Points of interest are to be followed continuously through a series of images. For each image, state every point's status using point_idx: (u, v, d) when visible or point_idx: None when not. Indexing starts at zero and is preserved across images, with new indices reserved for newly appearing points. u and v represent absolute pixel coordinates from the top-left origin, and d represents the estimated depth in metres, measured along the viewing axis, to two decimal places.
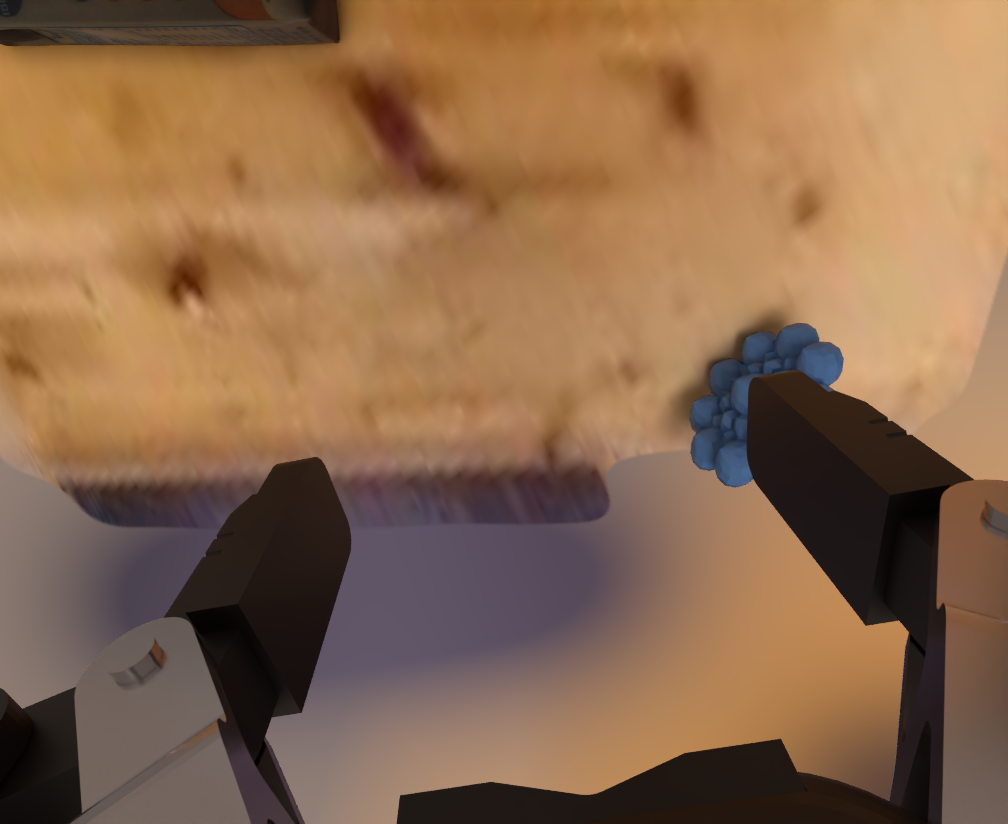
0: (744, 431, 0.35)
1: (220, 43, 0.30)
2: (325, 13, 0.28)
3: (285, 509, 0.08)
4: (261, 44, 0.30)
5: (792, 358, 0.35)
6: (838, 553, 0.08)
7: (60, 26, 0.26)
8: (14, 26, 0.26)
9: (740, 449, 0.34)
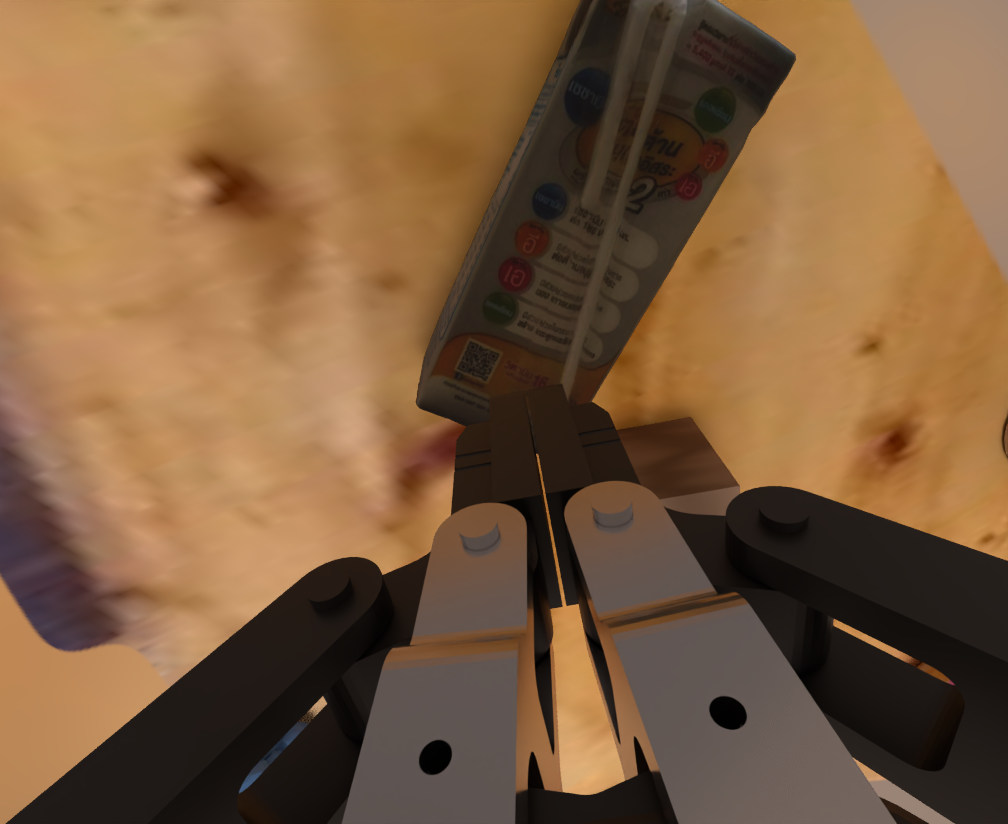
0: None
1: (467, 254, 0.26)
2: None
3: (529, 428, 0.09)
4: None
5: None
6: None
7: (531, 140, 0.20)
8: (558, 80, 0.19)
9: None
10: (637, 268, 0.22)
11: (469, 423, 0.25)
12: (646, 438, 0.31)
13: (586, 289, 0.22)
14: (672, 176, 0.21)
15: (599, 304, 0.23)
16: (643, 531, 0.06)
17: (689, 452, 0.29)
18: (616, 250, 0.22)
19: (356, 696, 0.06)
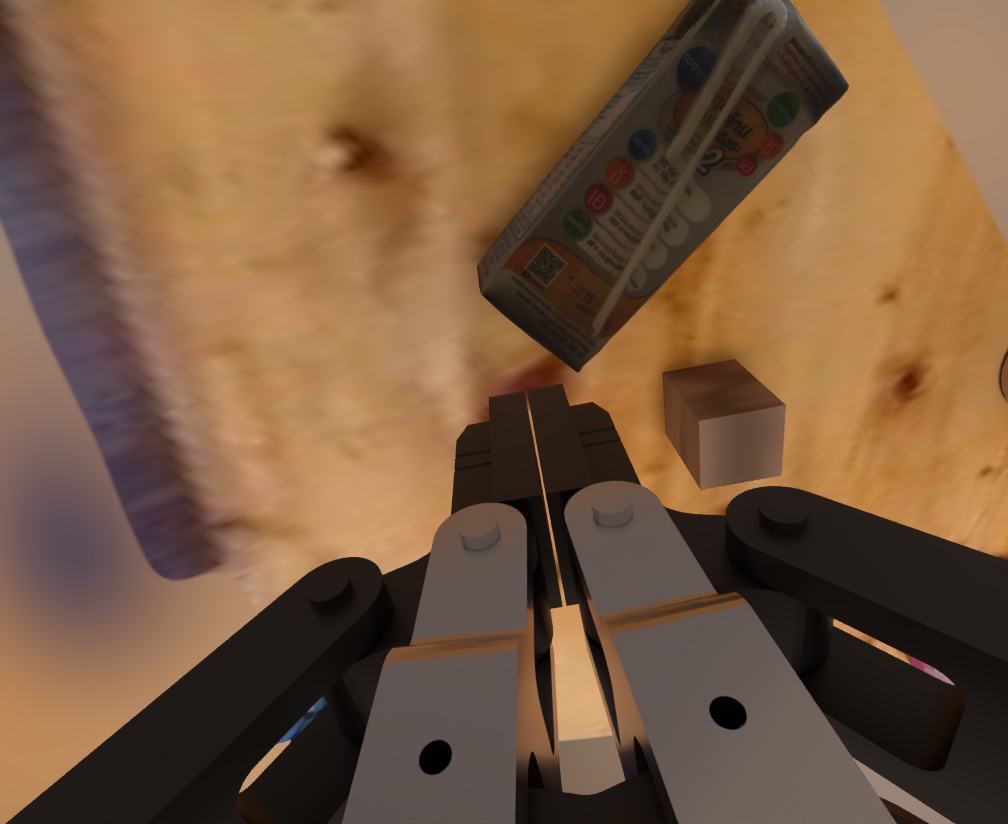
0: (312, 710, 0.40)
1: (545, 182, 0.31)
2: None
3: (529, 428, 0.09)
4: (520, 211, 0.32)
5: None
6: None
7: (642, 91, 0.25)
8: (677, 49, 0.24)
9: (297, 723, 0.39)
10: (691, 221, 0.28)
11: (519, 320, 0.29)
12: (698, 375, 0.36)
13: (648, 227, 0.27)
14: (737, 153, 0.26)
15: (653, 243, 0.28)
16: (643, 531, 0.06)
17: (738, 384, 0.34)
18: (679, 201, 0.27)
19: (356, 696, 0.06)
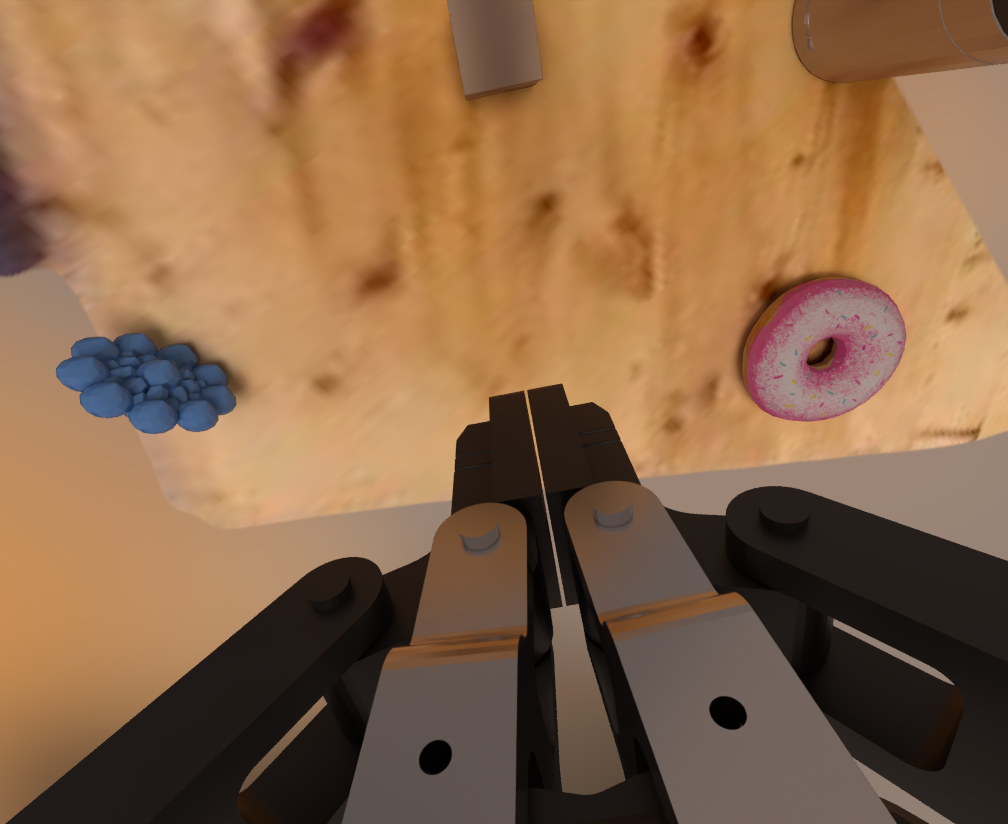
0: (118, 374, 0.41)
1: None
2: None
3: (529, 428, 0.09)
4: None
5: (199, 397, 0.45)
6: None
7: None
8: None
9: (96, 373, 0.39)
10: None
11: None
12: None
13: None
14: None
15: None
16: (643, 531, 0.06)
17: None
18: None
19: (356, 696, 0.06)
